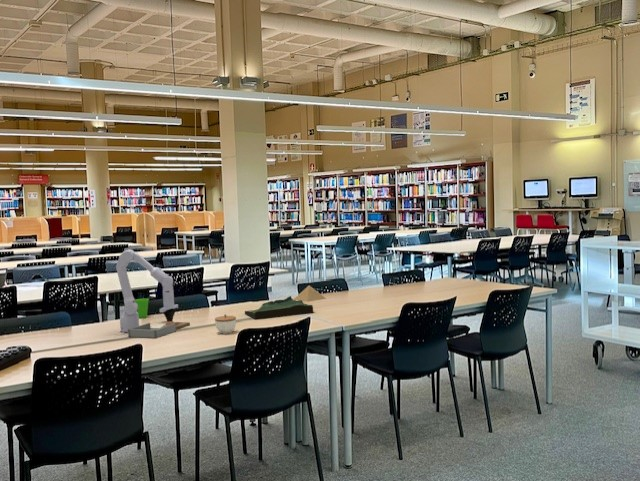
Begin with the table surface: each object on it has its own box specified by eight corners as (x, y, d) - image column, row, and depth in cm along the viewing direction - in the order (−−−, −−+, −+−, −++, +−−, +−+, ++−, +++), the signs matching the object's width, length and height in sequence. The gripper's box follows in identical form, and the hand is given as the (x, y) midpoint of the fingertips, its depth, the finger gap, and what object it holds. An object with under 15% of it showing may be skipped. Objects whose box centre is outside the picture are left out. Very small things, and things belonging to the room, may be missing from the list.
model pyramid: (310, 296, 424) (310, 282, 423) (326, 299, 410) (326, 284, 410) (292, 300, 413) (291, 285, 413) (307, 302, 400) (307, 287, 399)
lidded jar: (237, 329, 317) (236, 312, 316) (235, 334, 306) (234, 315, 305) (217, 330, 316) (216, 313, 316) (214, 335, 306) (213, 316, 305)
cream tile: (151, 332, 319) (150, 327, 318) (157, 327, 324) (156, 323, 323) (160, 332, 317) (159, 328, 316) (166, 327, 322) (166, 323, 321)
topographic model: (300, 308, 377) (299, 292, 376) (313, 313, 357) (312, 296, 356) (244, 314, 363) (244, 298, 362) (255, 320, 343) (254, 303, 343)
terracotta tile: (157, 327, 324) (157, 323, 324) (164, 325, 330) (164, 320, 329) (167, 327, 322) (166, 323, 322) (173, 325, 328) (173, 321, 327)
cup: (131, 319, 362) (130, 301, 362) (139, 316, 371) (138, 298, 371) (145, 319, 360) (144, 300, 360) (152, 316, 369) (151, 298, 368)
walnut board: (151, 330, 325) (151, 327, 325) (168, 324, 340) (168, 321, 340) (173, 331, 320) (173, 328, 320) (189, 325, 335) (189, 322, 335)
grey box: (128, 337, 310) (128, 329, 310) (148, 330, 326) (148, 322, 326) (156, 338, 304) (155, 330, 304) (175, 331, 320) (175, 323, 320)
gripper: (166, 300, 321) (168, 326, 321) (182, 296, 334) (183, 320, 335) (155, 300, 323) (157, 325, 324) (171, 296, 337) (172, 320, 337)
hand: (169, 323), depth 330 cm, fingers closed
